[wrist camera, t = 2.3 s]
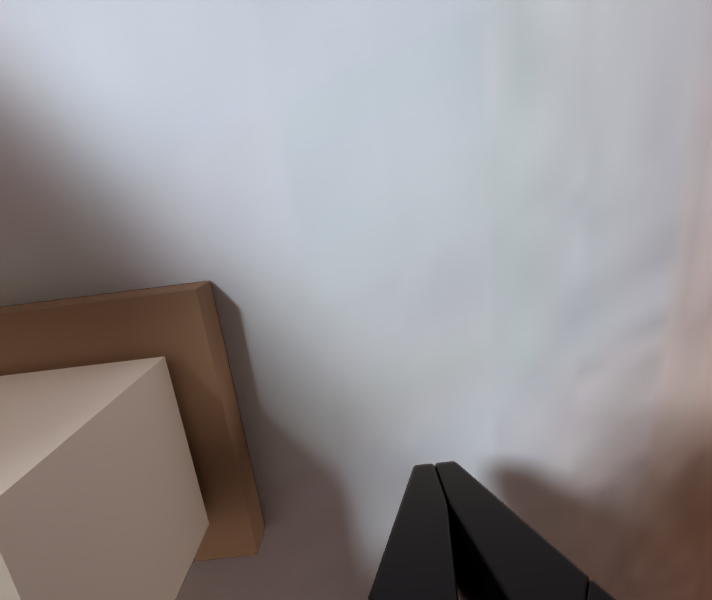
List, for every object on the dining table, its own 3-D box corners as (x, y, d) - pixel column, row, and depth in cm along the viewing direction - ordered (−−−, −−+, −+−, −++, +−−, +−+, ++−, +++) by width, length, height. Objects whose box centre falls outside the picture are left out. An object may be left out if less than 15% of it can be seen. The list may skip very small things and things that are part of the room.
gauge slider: (230, 605, 12) (144, 886, 7) (33, 624, 12) (-180, 909, 7) (164, 356, 10) (-18, 510, 5) (-70, 384, 10) (-457, 557, 5)
